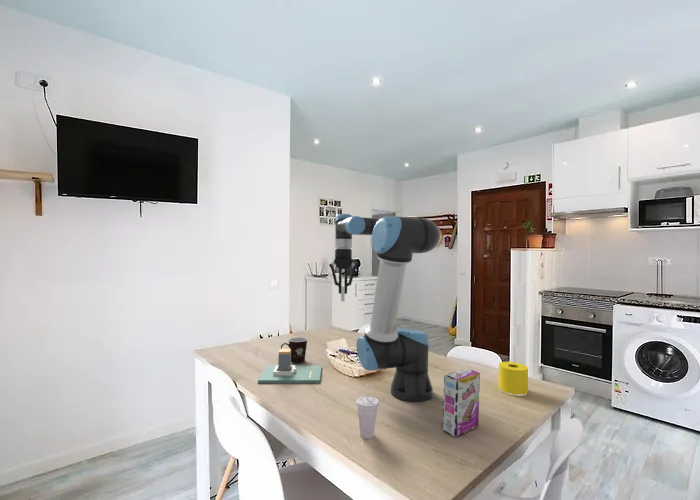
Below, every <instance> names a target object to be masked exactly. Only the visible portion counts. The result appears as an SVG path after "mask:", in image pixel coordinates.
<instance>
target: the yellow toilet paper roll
mask: <svg viewBox="0 0 700 500" xmlns="http://www.w3.org/2000/svg"><path fill="white" fill-rule="evenodd" d="M528 386H529V367H528V366H527V365H526V364H523V363H519V362H514V361H501V362H499V363H498V387H499V389H501V390H502V391H505V392H508V393H512V394H525V393H527V392H529V391H528V390H529V387H528ZM499 389H498V390H499Z"/></svg>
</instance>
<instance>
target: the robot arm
mask: <svg viewBox="0 0 700 500" xmlns="http://www.w3.org/2000/svg"><path fill="white" fill-rule="evenodd" d="M334 223H335V231H334V232H335V236H334V237H335V238H334V241H335V242H334V248H336V249H334V260H333V262H331V263H330V264H329V265H328V266H329V268H330V269H331V273H332V278H333V282H334V286H337V287H338V294H340V301H341V302H345V295H347V294H348V287H349V286H352V283H353V279H354V275H355V271H356V269H357V267H358V264H357V263H355V262H353V258H352V256H353V255H352V254H353V252H352V247H353V246H352V245H353V236H354V235H358V236H371V240H370V241H371V242H372V243H371V248H372V250H373V251H374V252H375V256H376V258H377V259H378V261H379V266H378V270H377V271H378V272H377V277H376V285H375V291H374V299H373V303H372V305H373V306H372V311H371V317H370V324H369V325H368V326H367V327H366V328H364V329H365V330H364V334H363V335H360V336H359V337H357V339H356V353H357V357H358V360H359V363H360V364H361V366H362V368H363V369H364V370H365V371H379V370H386V369H394V368H395V372H394V374H393V375H394V376H393V378H392V381H391V385H390V394H391V395H392V396H393V397H395V398H396V399H399V400H402V401H405V402H412V403H413V402H415V403H416V402H419V403H420V402H425V400H426V401H429V400H430V399H432V398H433V393H434V392H433V391H434V390H433V385H432V382H431V380H430V375H429V346H430V345H429V336H428V334H427V333H426V332H424V331H422V330H419V329H414V328H407V327H398V328H397V329H396V325H397V324H396V323H397V319H398V314H399V307H400V303H401V296H402V290H403V284H404V278H405V273H406V266H407V265H409V264H410V263H411V262H412V261H413V260H412V259H413V255H414V254H425V253H428V252H431V251H432V250H434V249H435V248H436V247H437V246H438V244H439V243H440V238H441V232H440V231H441V230H440V229H439V227H438V225H437V224H436V223H435V222H434V221H432V220H431V219H428V218H424V217H423V218H422V217H407V216H397V215H393V216H383V217H381V218H379V217H364V216H363V217H362V216H358V215H352V214H350V213H338V214H336V215H335V221H334ZM335 267H336V268H338V279H337V276H336V271H335ZM350 267H351V271H350V276H349V280H348V269H349V268H350ZM342 270H344V286H343V285H342V282H343V281H342V277H343V276H342V274H343V273H342V272H343V271H342ZM431 397H432V398H431ZM428 399H429V400H428Z"/></svg>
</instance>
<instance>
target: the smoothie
mask: <svg viewBox="0 0 700 500" xmlns="http://www.w3.org/2000/svg"><path fill="white" fill-rule="evenodd" d="M369 385H370V384H368V383H367V384H366V393H365V394H366V396H361V397H357V398H356V402H355V405H356V406H357V414H358V415H357V416H358V424H359V432H360V437H361V438H362V439H365V440H370V439H372V438H374V435H375V428H376V421H377V413H378V407H379V406H380V403H379V399H377V398H376V397H373V396H369V390H370V389H369Z"/></svg>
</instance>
